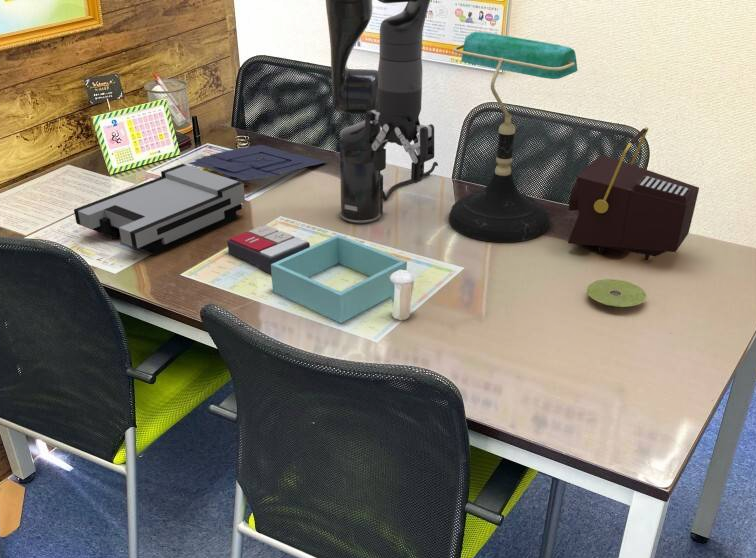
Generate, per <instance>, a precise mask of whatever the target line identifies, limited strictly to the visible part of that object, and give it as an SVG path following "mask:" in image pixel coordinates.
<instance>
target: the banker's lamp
mask: <svg viewBox="0 0 756 558" xmlns="http://www.w3.org/2000/svg"><path fill="white" fill-rule="evenodd" d="M461 49H462V50H461ZM453 52H454V53H456V54H460V55H461V60H460V61H461V62H462V63H465V64H469V65H475V66H481V67H485V68H490V69H495V71H494V72H493V75H492V78H491V81H490V91H491V92H492V95H493V97H494V98H495V100H496V102H497V104H498V106H499V107H500V109H501V111H502V112H503V114H504V122H502V123H501V124H500V125H499V127H498V141H497V153H496V154H497V155H496V156H495V157H496V158H495V162H496V164H497V165H496V167H495V169H494V171H493V174H492V176H491V178H490V180H489V182H488V184H487V185H486V186H485V188H484V189H483V190H479V191H474V192H472V193H469V194H468V195H465V196H463V197H460V199H458V200H457V201H456V202H455V203H454V204H452V206H451V208H450V212H449V216H448V223H449V225H450V226H451V228H453V229H454V230H455V231H456V232H457V233H460V234H462V235H463V236H466V237H469V238H471V239H475V240H479V241H483V242H489V243H490V242H492V243H517V242H524V241H528V240H529V241H530V240H533V239H535V238H537V237H539V236H541V235H543V234H544V233H546V231H548V228H549V224H550V222H549V221H550V220H549V214H548V211H547V209H546V208H545V207H544V206H543V204H541V203H540V202H539V201H538V200H535V199H534V198H532V197H531V196H529V195H527V194H525V193H521V192H520V191H519V189H518V188H517V186H516V183H515V180H514V176H513V173H512V167H511V166H510V165H511V164H512V163H513V157H514V156H513V150H514V140H515V134H516V125H514V123H512V117H513V116H512V114H511V113H509V112H508V110H507V108H506V106H505V104H504V103H503V101H502V100H501V98H500V96H499V94H498V92H497V91H496V88H495V87H496V86H495V83H496V82H497V81H496V80H497V78H498V75H499V73H500V71H506V72H511V73H517V74H521V75H526V76H531V77H536V78H543V79H548V80H560V79H561V78H565V77H567V76H570V75H572V74H574V73H576V72H578V61H577V56H576V55H577V54H576V51H575V49H573V48H572V47H569V46H566V45H562V44H557V43H550V42H546V41H545V42H544V41H539V40H532V39H527V38H521V37H515V36H509V35H503V34H497V33H492V32H491V33H490V32H485V31H473V32H471V33H470V34H467V35H466V36H465V38H464V42H463V44H460V45H458V46H455V47H454V48H453Z"/></svg>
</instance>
